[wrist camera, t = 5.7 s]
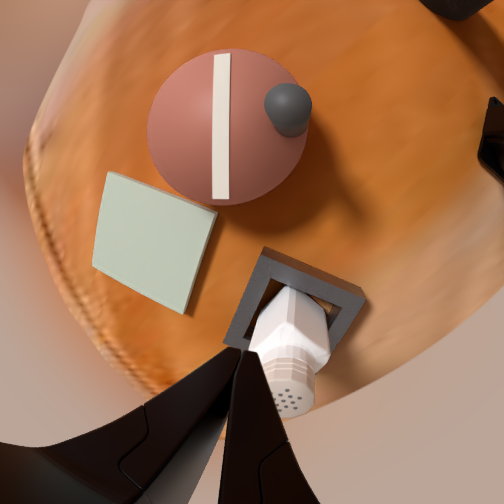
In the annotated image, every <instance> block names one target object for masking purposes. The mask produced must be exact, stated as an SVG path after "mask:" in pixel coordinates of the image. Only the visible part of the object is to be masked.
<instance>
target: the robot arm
mask: <svg viewBox="0 0 504 504" xmlns="http://www.w3.org/2000/svg"><path fill="white" fill-rule="evenodd" d="M494 102H495V103H494ZM482 153H483V154H484V157H483V156H482ZM478 158H479V160H480V161H481V162H483V163H484V164H485V165H486V166H487V167H488V168H489V169H490V170H491V171H493V172H494V173H495V174H496V175H497V176H498V177H499V178H500V179H501V180H502V181H503V182H504V105H503V104H502V103H501V102H500V101H499V100H498V99H497V98H496V97H490V99H489V104H488V109H487V112H486V117H485V122H484V126H483V131H482V138H481V142H480V146H479V149H478ZM227 417H228V420H227ZM226 420H227V429H226V437H225V446H224V454H223V463H222V471H221V480H220V490H219V497H218V504H320V502H319V501H318V499H317V498H316V496H315V494H314V493H313V491H312V489H311V488H310V486H309V484H308V482H307V480H306V479H305V477H304V475H303V473H302V471H301V469H300V467H299V464H298V462H297V460H296V457H295V455H294V452H293V450H292V448H291V444H290V442H288V437H287V434H286V431H285V429H284V426H283V423H282V420H281V418H280V415H279V412H278V409H277V407H276V404H275V401H274V398H273V395H272V393H271V390H270V387H269V384H268V381H267V378H266V375H265V373H264V370H263V367H262V364H261V361H260V358H259V355H258V353H257V352H254V351H249V350H243V352H242V350H241V349H239V348H234V347H227V348H225V349H224V350H223V351H221V352H220V353H218V354H217V355H216V356H214V357H213V358H211V359H210V360H209V361H207V362H206V363H204V364H203V365H201V366H200V367H199V368H197V369H196V370H194V371H193V372H191V373H190V374H188V375H187V376H185V377H184V378H183V379H181V380H180V381H178V382H177V383H175V384H174V385H172V386H171V387H169V388H168V389H166V390H164V391H163V392H161V393H160V394H158V395H157V396H155V397H154V398H152V399H151V400H149V401H147V402H146V403H144V406H143V405H141V406H139V407H138V408H136V409H134V410H133V411H131V412H129V413H128V414H126V415H124V416H122V417H121V418H119V419H117V420H115V421H113V422H111V423H109V424H106V425H104V426H102V427H100V428H97V429H95V430H93V431H90V432H88V433H85V434H82V435H80V436H77V437H75V438H72V439H69V440H66V441H64V442H61V443H58V444H55V445H51V446H46V447H24V446H18V445H12V444H7V443H2V442H0V504H188V502H189V500H190V498H191V496H192V494H193V492H194V490H195V488H196V486H197V484H198V482H199V480H200V478H201V475H202V473H203V471H204V469H205V467H206V465H207V463H208V461H209V458H210V456H211V454H212V452H213V450H214V447H215V445H216V443H217V441H218V439H219V436H220V434H221V432H222V430H223V427H224V425H225V423H226Z"/></svg>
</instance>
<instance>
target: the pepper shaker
mask: <svg viewBox="0 0 504 504" xmlns="http://www.w3.org/2000/svg"><path fill="white" fill-rule="evenodd" d="M248 350H249V351H254V352H257V353H258V355H259V358H260V361H261V364H262V367H263V370H264V373H265V375H266V378H267V381H268V384H269V387H270V390H271V393H272V395H273V398H274V401H275V404H276V407H277V409H278V412H279V415H280V418H294V417H297V416H300V415H303V414H306V413H307V412H308V411H309V410H310V409H311V408H312V406H313V405H314V402H315V373H317V372H318V371H319V370H320V369H321V368H322V367H323V366H324V365H325V364H326V363H327V362H328V360H329V357H330V355H331V354H330V345H329V337H328V329H327V322H326V315H325V312H324V309H323V308H322V307H321V306H319V305H318V304H317V303H316V302H315V301H313V300H312V299H311V298H310V297H309V296H307V295H306V294H305V293H304V292H303V291H301V290H298V289H296V288H294V287H291V286H289V285H287V286H284V287H283V289H282V290H281V291H280V292H279V293H278V294H277V295H276V296H275V297H274V298H273V299H272V300H271V301H270V302H269V303H268V304H267V305H266V306H265V307H264V308H263V309H262V310H261V311H260V313H259V316H258V319H257V323H256V326H255V329H254V333H253V336H252V339H251V343H250V346H249V349H248Z"/></svg>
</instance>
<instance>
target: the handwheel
mask: <svg viewBox="0 0 504 504" xmlns="http://www.w3.org/2000/svg"><path fill="white" fill-rule="evenodd" d="M311 109H312V101H311V98H310V96H309V94H308V93H307V91H306V90H305V89H303V88H302V87H300V86H299V85H298V83H297V82H296V80H295V79H294V78H293V76H292V75H291V74H290V73H289V72H288V71H287V70H286V69H285V68H284V67H283V66H282V65H280V64H279V63H277V62H276V61H274V60H273V59H271V58H269V57H267V56H265V55H263V54H260V53H257V52H254V51H249V50H244V49H222V50H216V51H211V52H208V53H205V54H202V55H200V56H197V57H195V58H193V59H191V60H190V61H188V62H186V63H185V64H183V65H182V66H181V67H179V68H178V69H177V70H176V71H174V72H173V73H172V74H171V75H170V76H169V77H168V79H167V80H166V81H165V82H164V84H163V85H162V86H161V88H160V89H159V91H158V93H157V95H156V97H155V99H154V101H153V103H152V106H151V109H150V112H149V117H148V124H147V141H148V147H149V151H150V154H151V158H152V160H153V162H154V164H155V167H156V168H157V170H158V171H159V173H160V175H161V176H162V177H163V178H164V180H165V181H166V182H167V183H168V184H169V185H170V186H171V187H172V188H173V189H175V190H176V191H178V192H179V193H180V194H182V195H184V196H186V197H188V198H190V199H192V200H195V201H198V202H200V203H205V204H210V205H221V206H222V205H235V204H240V203H244V202H248V201H251V200H254V199H256V198H258V197H260V196H262V195H264V194H266V193H267V192H269V191H271V190H272V189H274V188H275V187H276V186H277V185H279V184H280V183H281V182H282V181H283V180H284V179H285V178H286V177H287V176H288V175H289V174H290V173H291V172H292V170H293V169H294V167H295V166H296V165H297V163H298V161H299V159H300V157H301V155H302V153H303V150H304V147H305V144H306V139H307V135H308V125H309V119H310V114H311Z"/></svg>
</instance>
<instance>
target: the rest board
mask: <svg viewBox="0 0 504 504" xmlns="http://www.w3.org/2000/svg"><path fill="white" fill-rule="evenodd" d="M217 215H218V212H216V211H214V210H211V209H209V208H207V207H204V206H202V205H199V204H197V203H194V202H192V201H189V200H187V199H184V198H182V197H179V196H177V195H174V194H171V193H169V192H166V191H164V190H161V189H159V188H156V187H154V186H151V185H148V184H146V183H143V182H141V181H138V180H135V179H133V178H130V177H128V176H125V175H122V174H120V173H117V172H114V171H111V172H108V174H107V178H106V182H105V187H104V191H103V196H102V201H101V206H100V212H99V218H98V224H97V230H96V237H95V244H94V252H93V261H92V266H93V267H95V268H96V269H98V270H100V271H101V272H103V273H105V274H107V275H108V276H110V277H112V278H114V279H115V280H117V281H119V282H121V283H122V284H124V285H126V286H128V287H130V288H132V289H133V290H135V291H137V292H139V293H141V294H143V295H145V296H146V297H148V298H150V299H152V300H154V301H156V302H158V303H160V304H162V305H164V306H166V307H168V308H170V309H172V310H174V311H176V312H178V313H180V314H182V315H183V313H184V312H185V311H186V309H187V306H188V302H189V299H190V296H191V293H192V289H193V286H194V283H195V280H196V277H197V274H198V271H199V268H200V264H201V261H202V258H203V255H204V252H205V249H206V246H207V243H208V240H209V238H210V235H211V232H212V229H213V226H214V223H215V220H216V217H217Z"/></svg>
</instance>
